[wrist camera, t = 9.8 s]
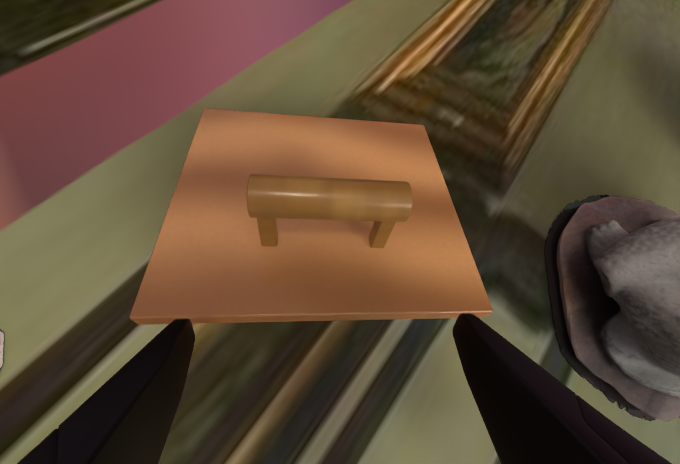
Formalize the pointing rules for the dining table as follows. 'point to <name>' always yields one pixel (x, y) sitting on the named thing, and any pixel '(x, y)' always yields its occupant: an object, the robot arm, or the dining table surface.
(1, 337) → the figurine
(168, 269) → the lid
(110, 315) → the dining table surface
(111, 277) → the dining table surface
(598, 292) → the angel statue
